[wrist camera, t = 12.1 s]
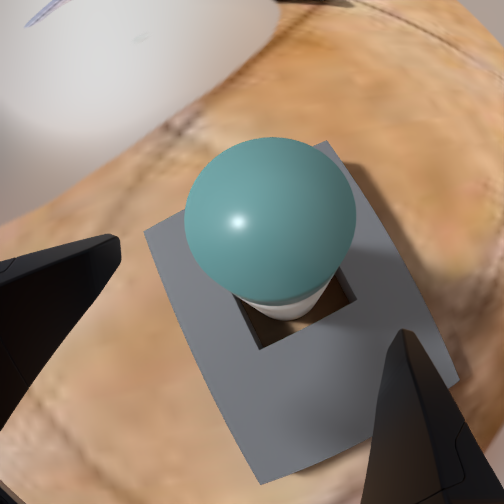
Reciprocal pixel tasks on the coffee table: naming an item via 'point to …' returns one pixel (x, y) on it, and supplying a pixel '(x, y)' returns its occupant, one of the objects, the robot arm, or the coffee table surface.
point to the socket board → (300, 347)
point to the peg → (271, 223)
